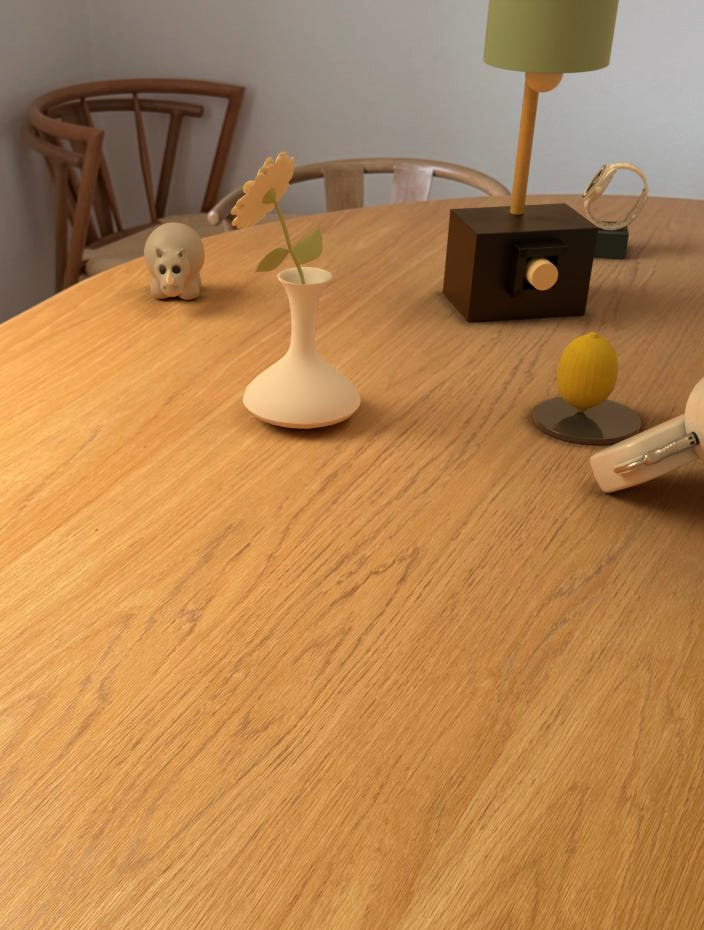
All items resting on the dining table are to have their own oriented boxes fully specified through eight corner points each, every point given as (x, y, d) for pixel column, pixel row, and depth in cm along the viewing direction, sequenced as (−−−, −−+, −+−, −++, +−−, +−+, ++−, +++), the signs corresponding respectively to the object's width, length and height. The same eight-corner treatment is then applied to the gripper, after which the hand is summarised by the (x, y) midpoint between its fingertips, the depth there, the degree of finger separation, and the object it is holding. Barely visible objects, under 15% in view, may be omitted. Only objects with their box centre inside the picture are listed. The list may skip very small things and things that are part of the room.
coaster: (630, 402, 124) (631, 397, 124) (648, 446, 116) (649, 440, 116) (527, 399, 125) (528, 394, 125) (538, 443, 117) (539, 437, 117)
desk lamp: (593, 322, 143) (646, -6, 124) (474, 330, 141) (510, -2, 122) (552, 285, 153) (595, -23, 135) (441, 292, 152) (469, -19, 133)
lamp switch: (556, 289, 139) (560, 262, 137) (530, 291, 138) (533, 264, 137) (548, 282, 141) (551, 255, 139) (522, 283, 140) (525, 257, 139)
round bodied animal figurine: (137, 318, 145) (133, 245, 140) (149, 284, 155) (146, 214, 150) (199, 319, 145) (198, 245, 140) (207, 285, 155) (206, 215, 150)
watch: (573, 243, 167) (586, 157, 161) (636, 246, 166) (651, 160, 160) (574, 256, 163) (587, 168, 156) (639, 259, 161) (654, 171, 155)
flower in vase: (313, 383, 129) (321, 126, 115) (383, 421, 121) (401, 150, 107) (206, 412, 123) (201, 146, 109) (273, 455, 115) (276, 173, 101)
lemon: (618, 423, 119) (632, 342, 115) (560, 425, 119) (573, 344, 114) (599, 399, 124) (613, 320, 119) (544, 401, 123) (555, 322, 119)
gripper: (646, 503, 100) (581, 515, 114) (869, 403, 102) (778, 427, 116) (615, 430, 100) (554, 451, 114) (840, 331, 102) (753, 363, 115)
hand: (669, 438), depth 115 cm, fingers open, 8 cm apart
